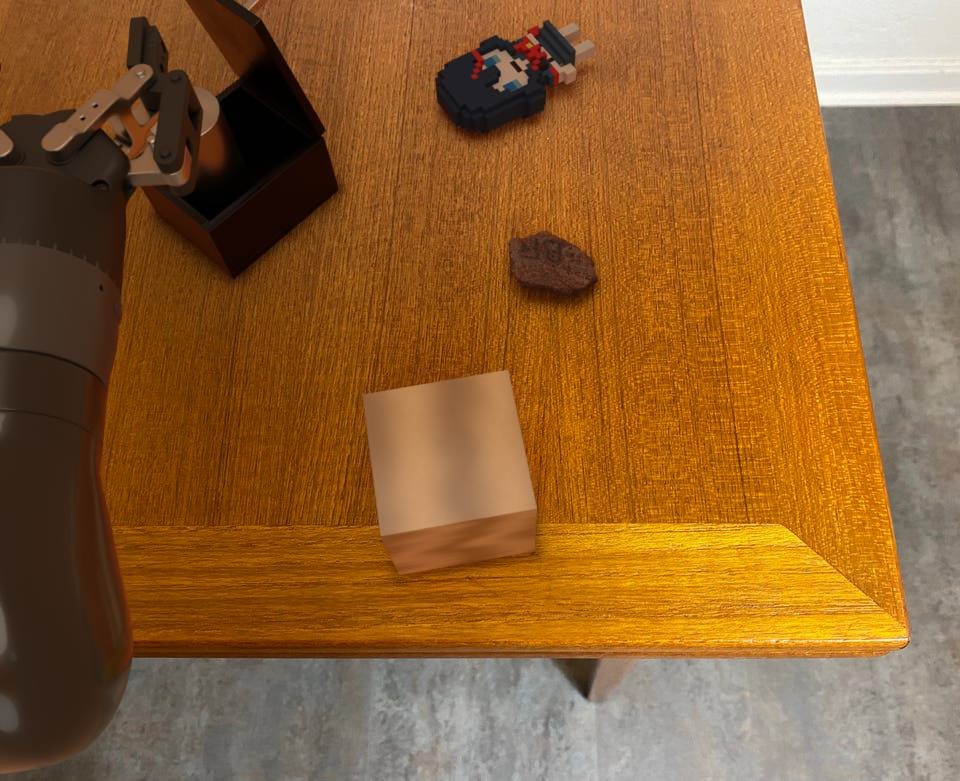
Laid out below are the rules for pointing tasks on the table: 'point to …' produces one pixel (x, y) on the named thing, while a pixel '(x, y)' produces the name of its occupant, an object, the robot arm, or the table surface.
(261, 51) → the lid
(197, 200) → the canister
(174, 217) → the dark brown box
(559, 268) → the stone
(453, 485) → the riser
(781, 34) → the table surface
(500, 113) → the figurine
